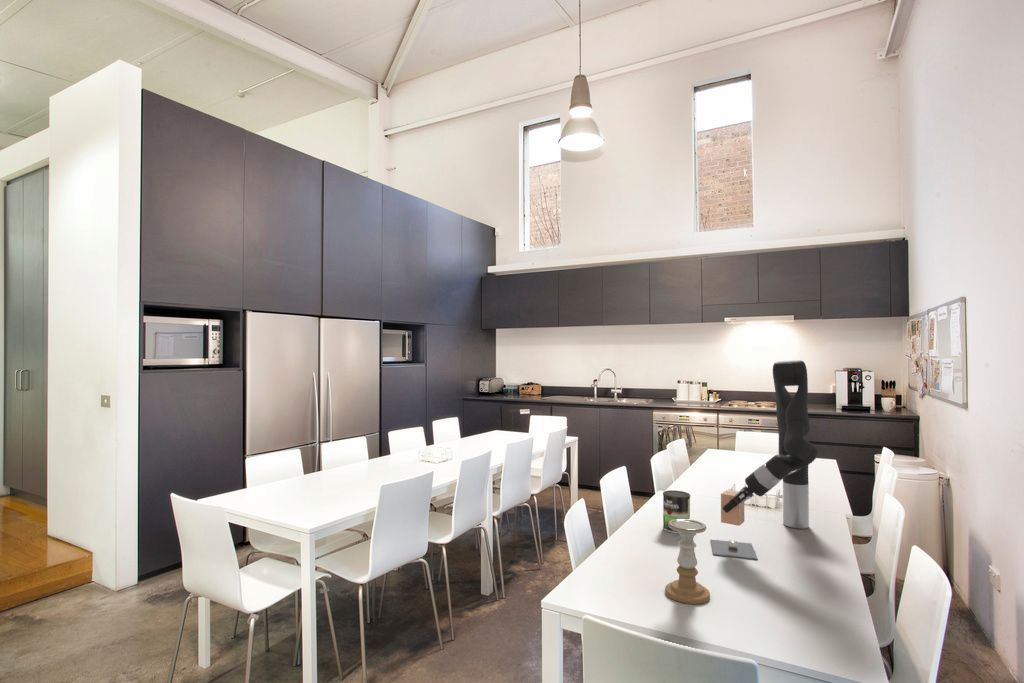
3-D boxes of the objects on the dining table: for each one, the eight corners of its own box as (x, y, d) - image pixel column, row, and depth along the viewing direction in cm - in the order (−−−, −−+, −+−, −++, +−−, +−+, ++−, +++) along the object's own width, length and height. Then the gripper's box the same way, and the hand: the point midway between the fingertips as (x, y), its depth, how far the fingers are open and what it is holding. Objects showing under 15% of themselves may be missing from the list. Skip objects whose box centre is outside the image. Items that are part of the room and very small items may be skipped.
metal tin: (727, 546, 192) (727, 539, 192) (737, 547, 191) (736, 540, 191) (728, 549, 189) (728, 542, 189) (737, 550, 189) (737, 543, 189)
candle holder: (719, 601, 151) (719, 528, 151) (681, 607, 147) (680, 532, 148) (692, 583, 163) (692, 516, 163) (656, 588, 159) (656, 519, 159)
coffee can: (680, 535, 205) (680, 498, 205) (657, 529, 213) (657, 493, 213) (695, 530, 212) (695, 494, 212) (672, 523, 219) (672, 488, 220)
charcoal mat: (710, 540, 200) (710, 539, 200) (751, 544, 195) (751, 543, 196) (713, 555, 185) (713, 553, 185) (757, 560, 181) (757, 558, 181)
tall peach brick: (726, 518, 195) (726, 490, 195) (744, 521, 191) (744, 493, 191) (720, 522, 190) (720, 493, 190) (739, 525, 186) (739, 496, 186)
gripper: (760, 467, 192) (726, 495, 199) (749, 474, 181) (713, 503, 188) (776, 484, 189) (741, 512, 196) (766, 492, 177) (729, 522, 184)
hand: (727, 508), depth 192 cm, fingers closed on tall peach brick, 6 cm apart
